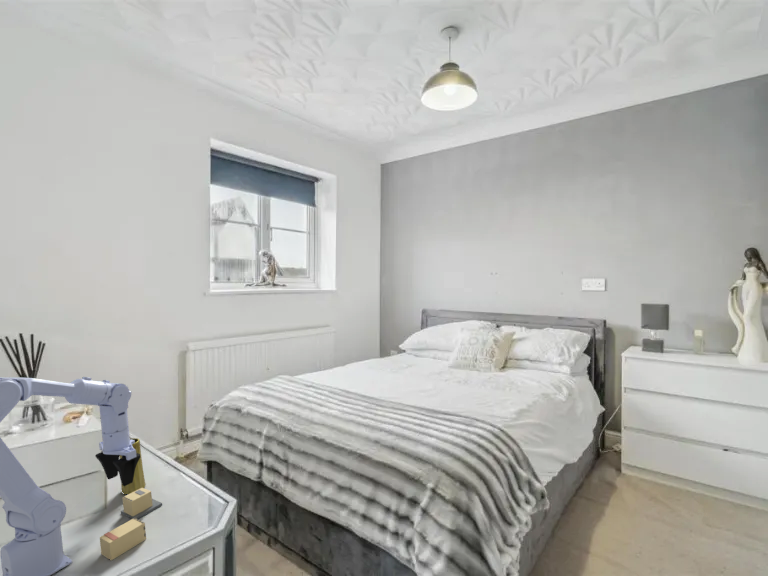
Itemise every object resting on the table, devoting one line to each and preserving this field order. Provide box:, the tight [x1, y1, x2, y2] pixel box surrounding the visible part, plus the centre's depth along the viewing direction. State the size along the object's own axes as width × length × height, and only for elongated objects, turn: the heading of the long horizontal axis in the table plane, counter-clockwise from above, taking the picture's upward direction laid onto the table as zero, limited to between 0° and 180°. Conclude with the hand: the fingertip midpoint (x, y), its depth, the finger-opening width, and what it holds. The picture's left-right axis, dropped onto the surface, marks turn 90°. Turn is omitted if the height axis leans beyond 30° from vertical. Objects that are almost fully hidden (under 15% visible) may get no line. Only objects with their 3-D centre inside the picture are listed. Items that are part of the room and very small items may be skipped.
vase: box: [119, 437, 147, 495], centre depth 114 cm, size 6×6×14 cm
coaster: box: [120, 498, 163, 520], centre depth 104 cm, size 7×7×1 cm
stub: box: [122, 487, 153, 516], centre depth 103 cm, size 5×4×4 cm
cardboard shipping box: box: [99, 518, 147, 562], centre depth 90 cm, size 8×4×4 cm, turn 150°
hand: (120, 480), depth 101 cm, fingers open, 7 cm apart
